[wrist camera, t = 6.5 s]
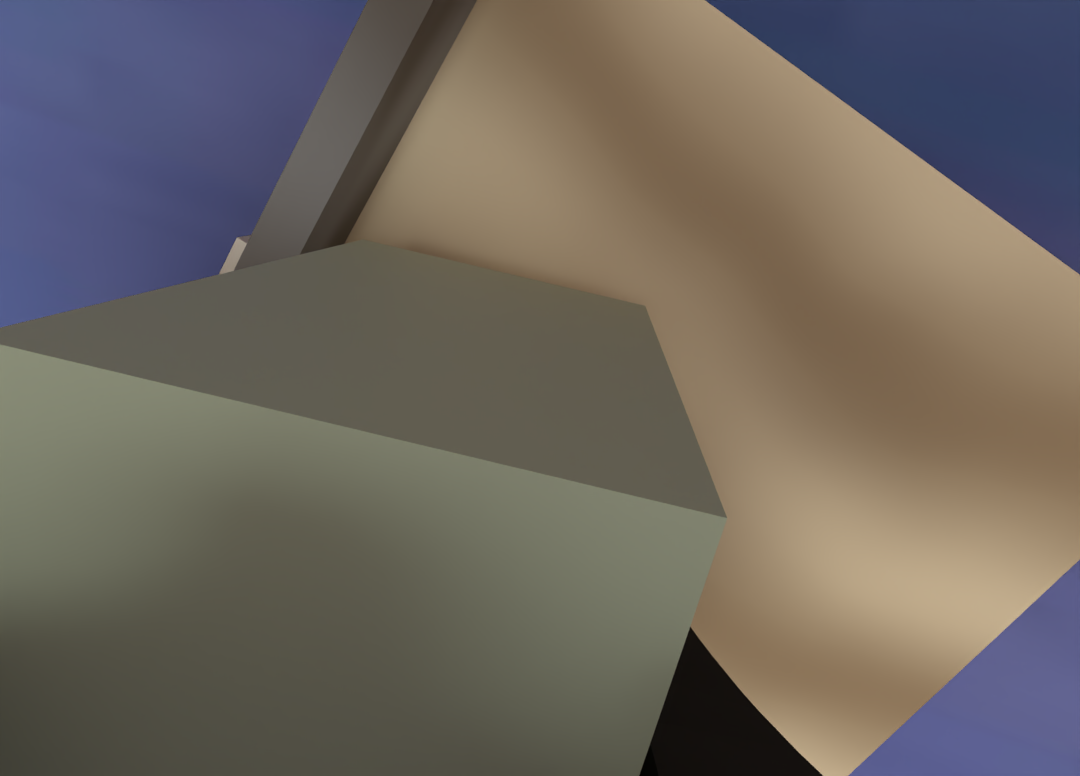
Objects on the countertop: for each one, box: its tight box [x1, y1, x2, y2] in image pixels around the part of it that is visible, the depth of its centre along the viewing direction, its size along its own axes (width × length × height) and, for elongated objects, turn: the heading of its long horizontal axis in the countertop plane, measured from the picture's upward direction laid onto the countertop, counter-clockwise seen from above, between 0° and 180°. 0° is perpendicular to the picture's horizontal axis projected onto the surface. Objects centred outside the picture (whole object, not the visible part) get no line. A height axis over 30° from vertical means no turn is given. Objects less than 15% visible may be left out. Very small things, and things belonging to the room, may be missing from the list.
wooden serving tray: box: [219, 0, 1080, 776], centre depth 14 cm, size 17×16×4 cm
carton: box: [0, 239, 727, 776], centre depth 8 cm, size 5×8×7 cm, turn 167°
